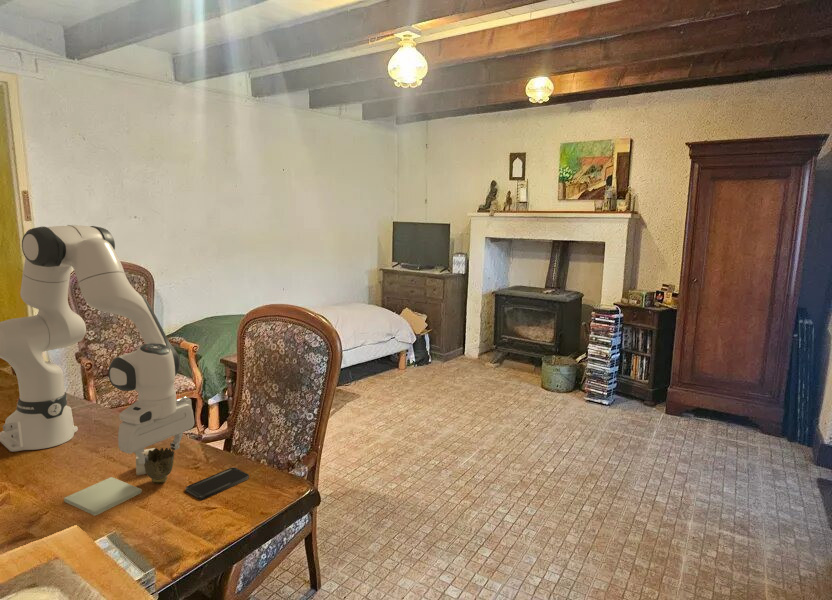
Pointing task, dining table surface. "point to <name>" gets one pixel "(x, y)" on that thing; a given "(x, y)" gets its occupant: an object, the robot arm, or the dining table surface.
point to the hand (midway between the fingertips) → (159, 455)
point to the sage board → (102, 496)
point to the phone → (216, 483)
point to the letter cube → (140, 467)
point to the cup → (159, 464)
